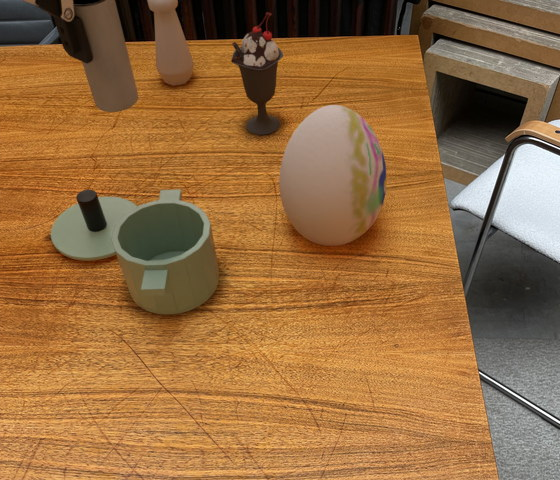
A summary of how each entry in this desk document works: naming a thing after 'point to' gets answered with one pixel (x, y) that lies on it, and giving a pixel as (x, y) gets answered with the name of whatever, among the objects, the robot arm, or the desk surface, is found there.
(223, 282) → the desk surface
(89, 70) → the grey tube
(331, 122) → the decorative egg
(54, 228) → the lid
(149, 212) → the pot
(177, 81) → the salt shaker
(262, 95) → the sundae
